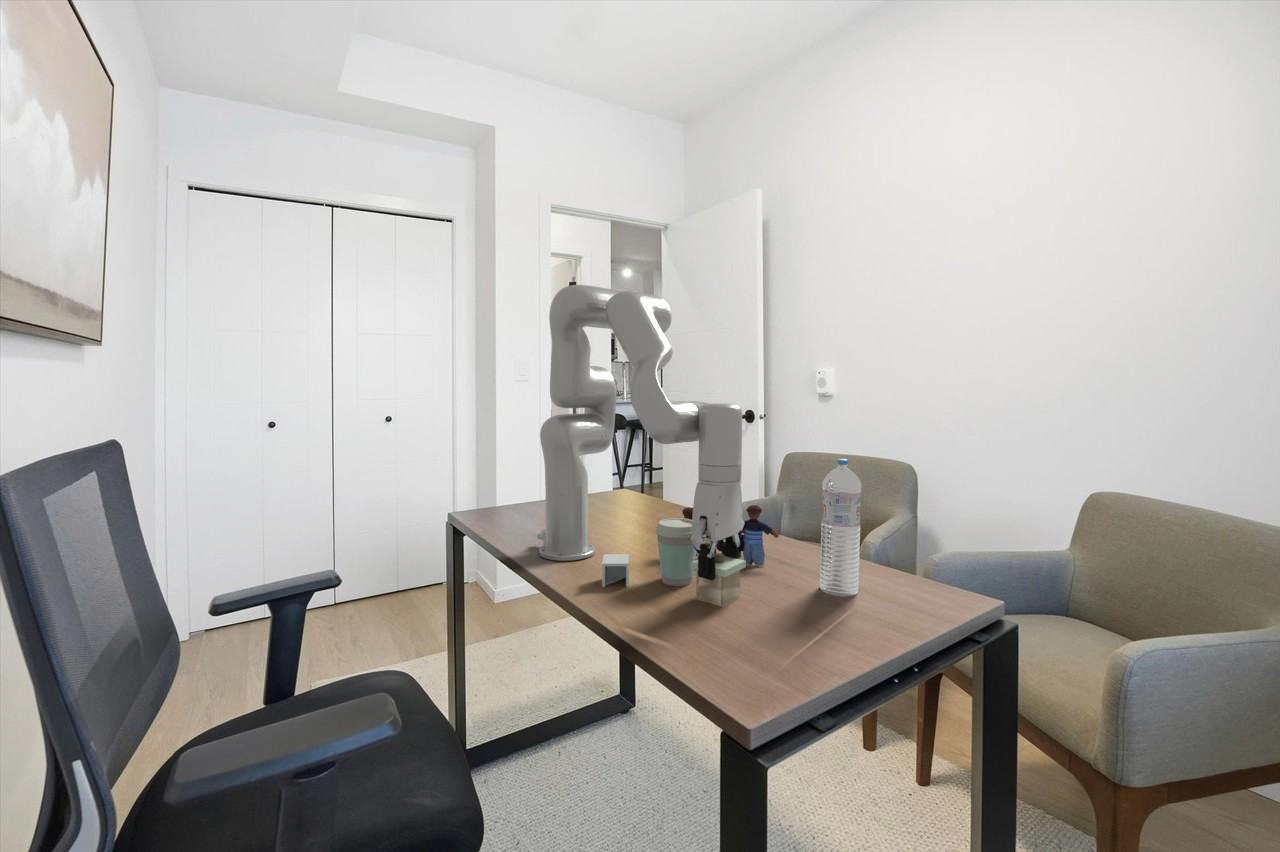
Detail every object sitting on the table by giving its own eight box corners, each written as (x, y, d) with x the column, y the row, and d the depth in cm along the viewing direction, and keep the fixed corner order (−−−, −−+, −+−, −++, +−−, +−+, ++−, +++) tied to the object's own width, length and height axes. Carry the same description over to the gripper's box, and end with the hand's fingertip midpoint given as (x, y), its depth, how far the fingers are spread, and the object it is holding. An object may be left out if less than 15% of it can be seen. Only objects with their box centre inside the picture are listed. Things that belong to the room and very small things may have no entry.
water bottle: (830, 583, 116) (834, 456, 114) (864, 592, 111) (869, 459, 109) (812, 592, 111) (816, 459, 109) (847, 602, 106) (851, 463, 104)
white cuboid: (603, 578, 118) (603, 554, 118) (629, 578, 119) (629, 554, 118) (602, 589, 113) (602, 563, 112) (628, 589, 113) (628, 563, 112)
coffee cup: (696, 592, 111) (697, 529, 110) (651, 589, 113) (651, 526, 112) (701, 577, 119) (702, 518, 118) (659, 574, 121) (659, 516, 120)
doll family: (775, 558, 133) (776, 499, 132) (778, 571, 124) (779, 507, 123) (672, 553, 136) (672, 495, 135) (667, 565, 127) (668, 503, 126)
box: (696, 601, 106) (696, 568, 106) (713, 593, 111) (713, 561, 110) (723, 609, 103) (723, 575, 102) (739, 600, 107) (740, 567, 107)
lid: (691, 568, 106) (691, 555, 106) (712, 559, 111) (712, 547, 111) (725, 577, 101) (725, 563, 101) (745, 567, 107) (745, 554, 107)
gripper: (727, 466, 114) (725, 557, 115) (673, 477, 101) (672, 580, 102) (762, 470, 109) (760, 565, 111) (710, 482, 96) (709, 590, 97)
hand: (718, 572), depth 106 cm, fingers closed on lid, 7 cm apart
